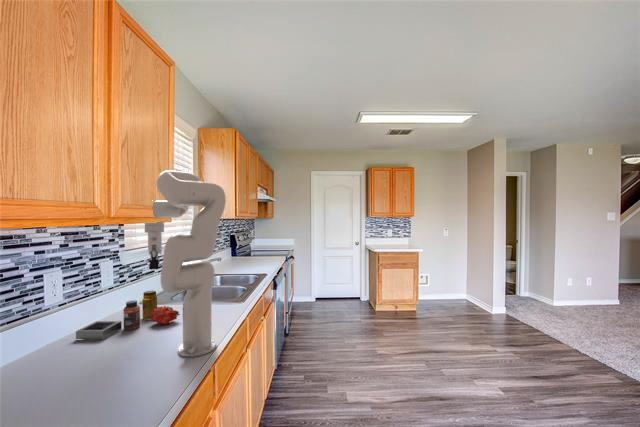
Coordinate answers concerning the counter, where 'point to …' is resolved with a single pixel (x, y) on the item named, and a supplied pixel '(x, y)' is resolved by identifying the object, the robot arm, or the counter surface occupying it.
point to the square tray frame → (99, 330)
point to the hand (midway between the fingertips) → (154, 267)
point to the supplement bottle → (131, 315)
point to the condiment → (149, 304)
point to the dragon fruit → (163, 315)
